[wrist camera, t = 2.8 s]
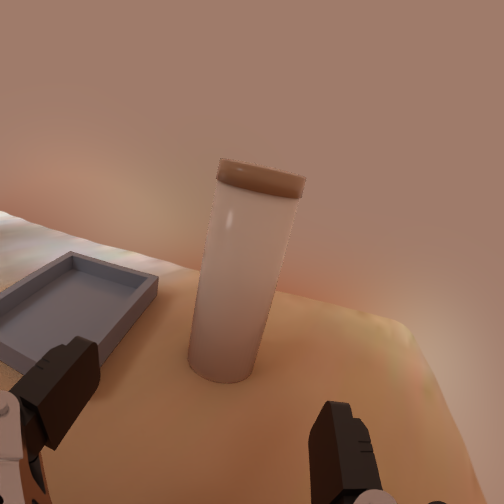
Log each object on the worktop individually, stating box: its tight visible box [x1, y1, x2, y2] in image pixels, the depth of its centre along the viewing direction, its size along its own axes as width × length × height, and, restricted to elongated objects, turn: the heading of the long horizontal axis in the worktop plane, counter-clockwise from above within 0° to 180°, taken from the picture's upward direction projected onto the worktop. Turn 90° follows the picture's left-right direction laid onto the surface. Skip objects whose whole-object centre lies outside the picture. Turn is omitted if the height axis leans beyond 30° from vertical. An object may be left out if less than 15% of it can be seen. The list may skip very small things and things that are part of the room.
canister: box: [187, 158, 306, 383], centre depth 20 cm, size 5×5×14 cm
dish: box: [0, 251, 159, 375], centre depth 22 cm, size 11×16×2 cm
